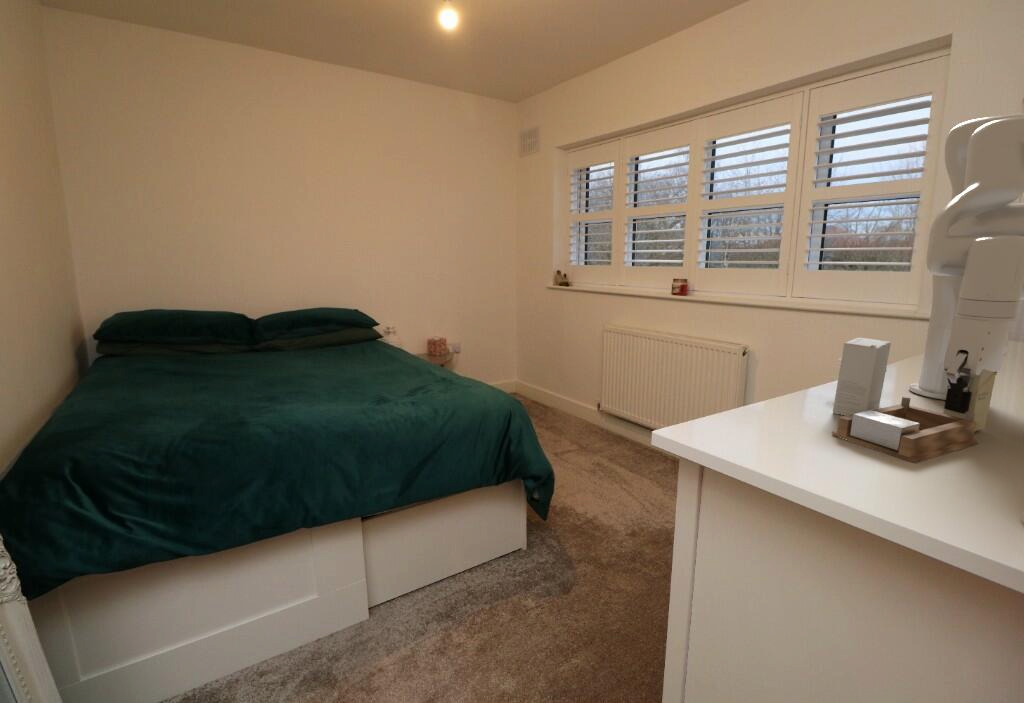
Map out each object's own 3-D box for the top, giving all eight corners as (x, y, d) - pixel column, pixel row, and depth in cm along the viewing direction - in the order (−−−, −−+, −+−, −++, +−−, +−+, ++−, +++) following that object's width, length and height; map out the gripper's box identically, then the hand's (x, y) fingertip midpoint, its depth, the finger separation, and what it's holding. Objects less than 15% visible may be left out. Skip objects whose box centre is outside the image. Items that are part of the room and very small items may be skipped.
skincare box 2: (969, 434, 85) (983, 367, 82) (939, 425, 89) (951, 361, 86) (986, 427, 88) (1000, 362, 85) (955, 419, 92) (967, 357, 89)
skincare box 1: (845, 406, 102) (856, 336, 99) (880, 413, 98) (892, 340, 95) (831, 414, 97) (841, 341, 94) (867, 422, 92) (879, 345, 89)
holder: (895, 420, 93) (899, 395, 92) (978, 443, 82) (984, 414, 81) (832, 435, 86) (835, 407, 84) (914, 462, 74) (920, 431, 73)
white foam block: (867, 430, 85) (871, 410, 84) (915, 445, 79) (919, 423, 78) (850, 435, 83) (853, 413, 82) (897, 450, 77) (901, 427, 76)
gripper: (984, 304, 91) (965, 395, 95) (932, 310, 84) (914, 409, 88) (1039, 309, 84) (1017, 407, 88) (988, 316, 77) (966, 422, 81)
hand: (966, 407), depth 88 cm, fingers closed on skincare box 2, 6 cm apart
